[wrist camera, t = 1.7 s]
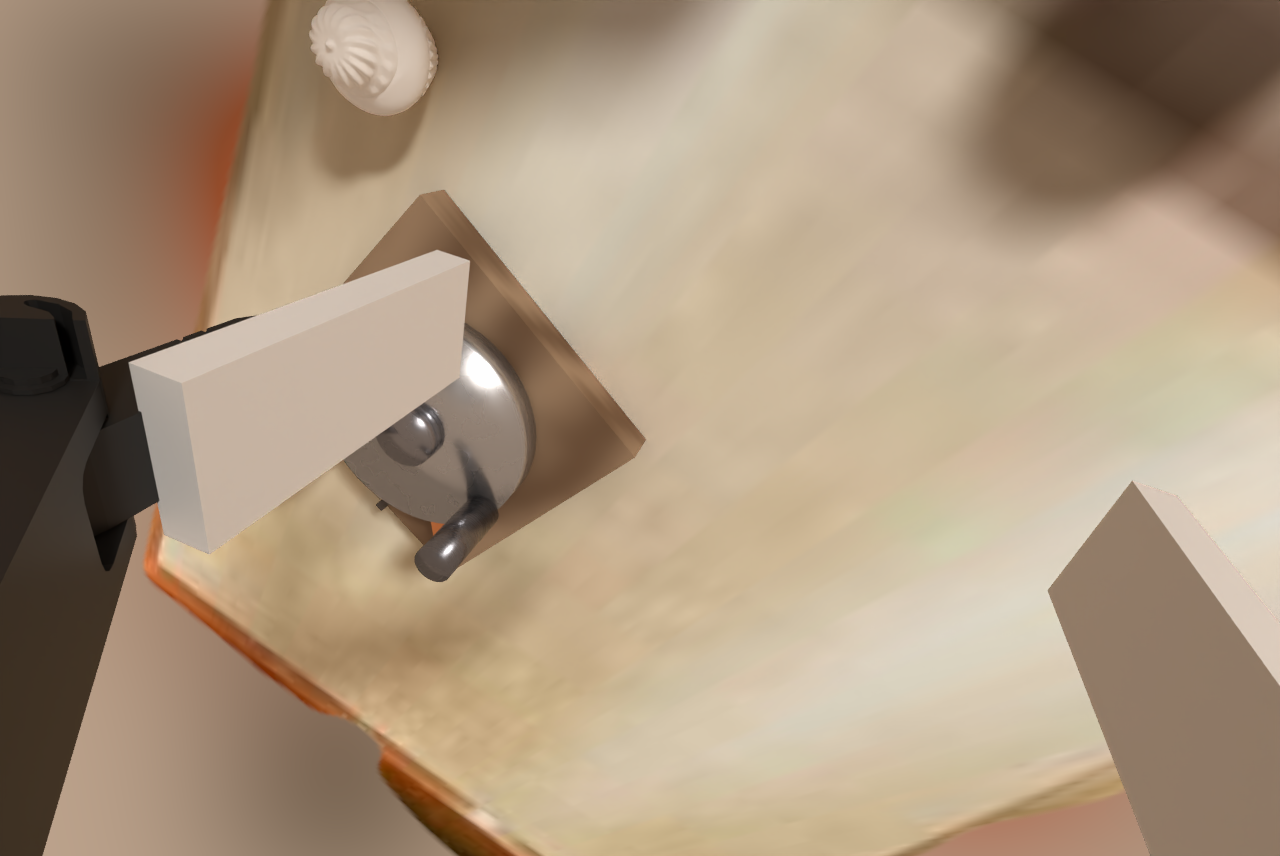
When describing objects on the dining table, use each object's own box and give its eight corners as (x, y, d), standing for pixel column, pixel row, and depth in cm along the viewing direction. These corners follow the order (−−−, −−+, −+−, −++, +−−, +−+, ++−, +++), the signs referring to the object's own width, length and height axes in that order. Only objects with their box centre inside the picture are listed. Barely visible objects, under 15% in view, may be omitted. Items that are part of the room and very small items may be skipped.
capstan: (303, 384, 46) (205, 434, 39) (422, 256, 38) (328, 290, 31) (450, 545, 48) (384, 618, 42) (588, 455, 41) (534, 525, 34)
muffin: (391, 127, 38) (305, 131, 32) (349, 10, 36) (249, -8, 30) (477, 98, 36) (402, 97, 30) (439, -29, 34) (349, -57, 28)
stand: (290, 362, 49) (256, 378, 46) (443, 189, 39) (411, 196, 36) (466, 553, 52) (443, 579, 50) (645, 439, 43) (631, 463, 40)
